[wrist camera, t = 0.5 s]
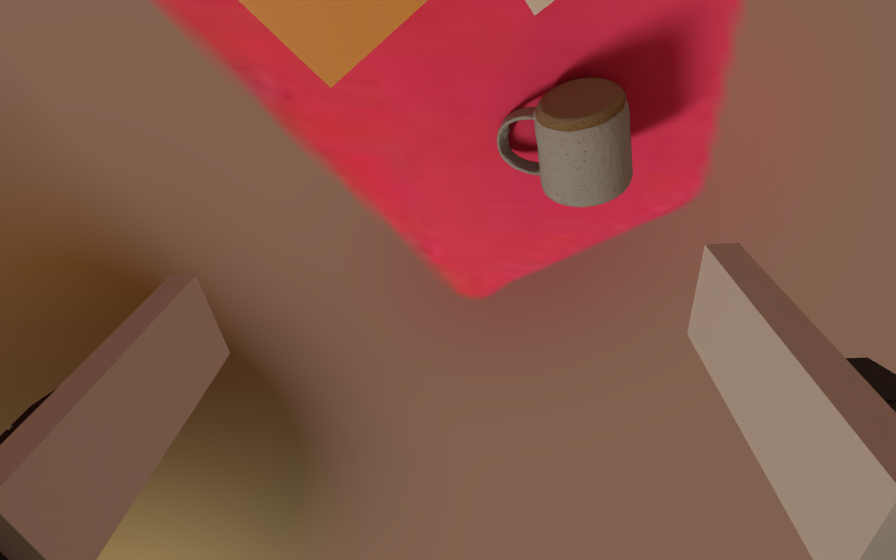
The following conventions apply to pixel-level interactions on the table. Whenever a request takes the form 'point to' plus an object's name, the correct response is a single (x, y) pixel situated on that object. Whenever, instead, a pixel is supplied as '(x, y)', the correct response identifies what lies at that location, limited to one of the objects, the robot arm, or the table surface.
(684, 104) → the table surface
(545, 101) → the ceramic mug
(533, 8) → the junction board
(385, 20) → the tall orange block
